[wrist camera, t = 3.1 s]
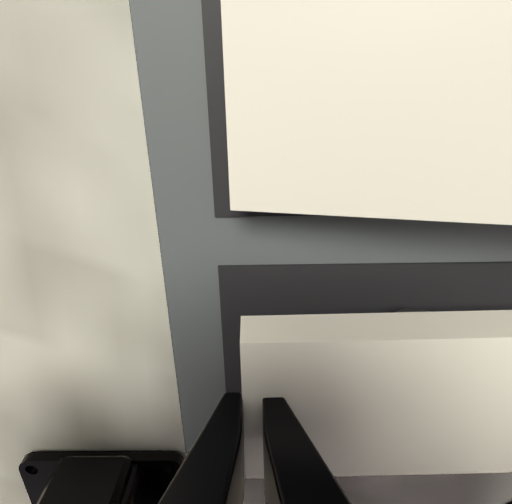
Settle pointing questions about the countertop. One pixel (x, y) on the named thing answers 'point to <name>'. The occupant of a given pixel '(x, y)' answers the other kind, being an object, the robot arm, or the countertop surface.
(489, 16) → the rocker
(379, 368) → the rocker
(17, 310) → the countertop surface
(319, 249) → the switch unit
